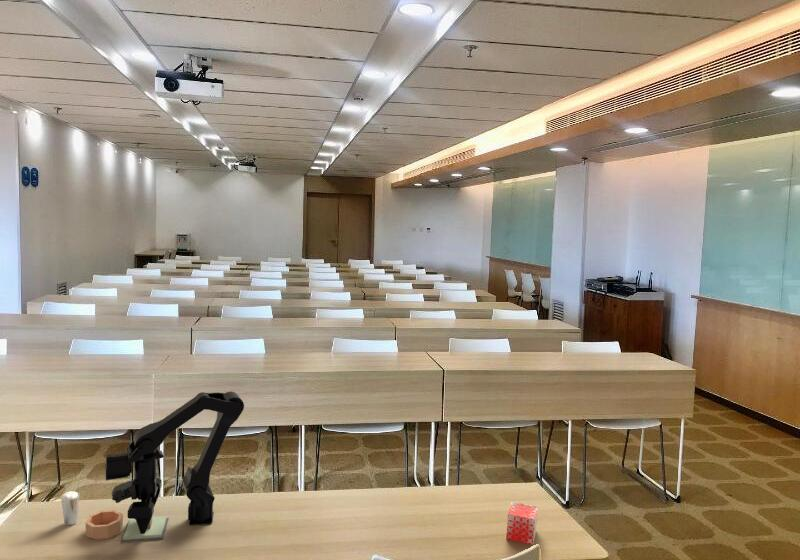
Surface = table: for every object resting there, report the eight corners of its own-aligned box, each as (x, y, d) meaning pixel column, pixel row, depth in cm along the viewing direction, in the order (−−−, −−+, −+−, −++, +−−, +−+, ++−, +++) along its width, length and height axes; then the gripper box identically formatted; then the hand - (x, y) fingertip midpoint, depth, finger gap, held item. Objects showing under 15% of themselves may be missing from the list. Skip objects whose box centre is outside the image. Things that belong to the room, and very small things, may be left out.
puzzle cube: (533, 545, 177) (535, 519, 176) (505, 539, 179) (507, 513, 178) (536, 531, 184) (538, 506, 183) (510, 525, 187) (511, 501, 186)
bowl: (124, 522, 178) (124, 509, 177) (118, 538, 169) (118, 525, 169) (91, 524, 176) (91, 511, 175) (83, 541, 167) (82, 527, 167)
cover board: (166, 518, 180) (166, 502, 179) (161, 537, 170) (161, 519, 170) (130, 521, 178) (130, 504, 177) (122, 540, 168) (122, 522, 167)
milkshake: (74, 528, 173) (73, 495, 172) (58, 525, 174) (57, 492, 173) (85, 520, 178) (85, 488, 176) (69, 517, 179) (69, 485, 177)
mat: (168, 519, 181) (168, 517, 181) (163, 539, 170) (163, 538, 170) (128, 521, 178) (128, 520, 178) (120, 542, 168) (120, 541, 167)
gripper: (121, 461, 179) (122, 510, 181) (106, 490, 161) (107, 546, 163) (161, 459, 182) (161, 508, 184) (151, 488, 164) (151, 542, 166)
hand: (145, 525), depth 174 cm, fingers open, 8 cm apart
